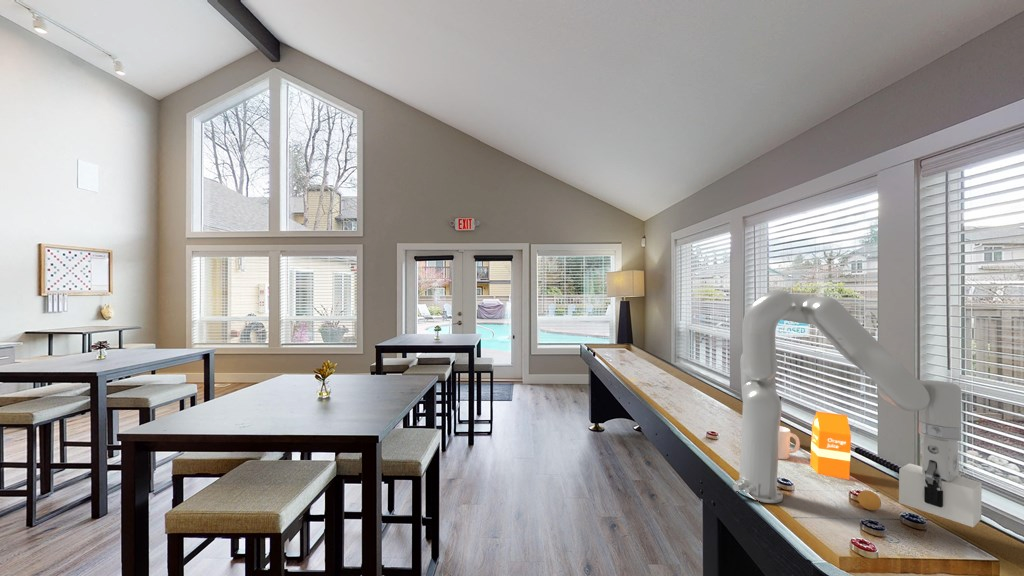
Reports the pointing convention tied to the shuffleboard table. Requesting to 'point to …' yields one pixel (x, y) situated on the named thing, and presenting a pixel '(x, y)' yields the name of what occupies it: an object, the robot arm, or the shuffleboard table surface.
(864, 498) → the ball
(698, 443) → the shuffleboard table surface
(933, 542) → the shuffleboard table surface
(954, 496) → the frosted white brick
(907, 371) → the robot arm
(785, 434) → the mug
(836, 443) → the orange juice
